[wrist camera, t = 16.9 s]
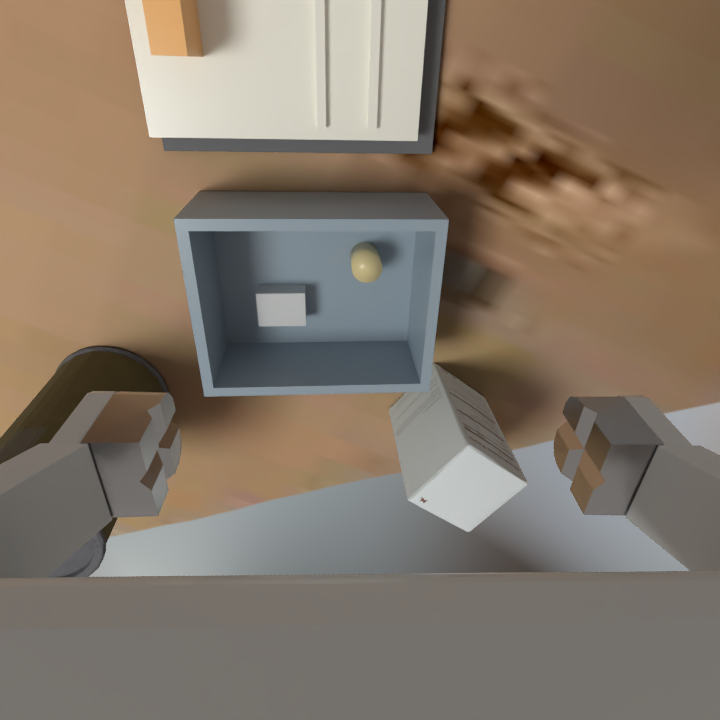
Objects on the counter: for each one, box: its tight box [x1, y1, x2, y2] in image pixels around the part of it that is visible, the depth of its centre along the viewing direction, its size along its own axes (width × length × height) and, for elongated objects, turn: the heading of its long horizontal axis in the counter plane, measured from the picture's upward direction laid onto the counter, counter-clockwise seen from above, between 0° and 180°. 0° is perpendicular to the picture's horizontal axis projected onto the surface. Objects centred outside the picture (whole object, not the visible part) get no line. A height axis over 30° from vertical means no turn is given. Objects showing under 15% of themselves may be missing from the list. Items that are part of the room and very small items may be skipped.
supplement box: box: [389, 363, 528, 532], centre depth 45 cm, size 7×7×13 cm
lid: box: [125, 0, 428, 141], centre depth 30 cm, size 19×15×7 cm
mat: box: [162, 0, 446, 154], centre depth 33 cm, size 20×17×1 cm
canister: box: [0, 346, 169, 577], centre depth 39 cm, size 11×10×20 cm
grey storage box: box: [174, 191, 449, 397], centre depth 39 cm, size 18×14×8 cm
